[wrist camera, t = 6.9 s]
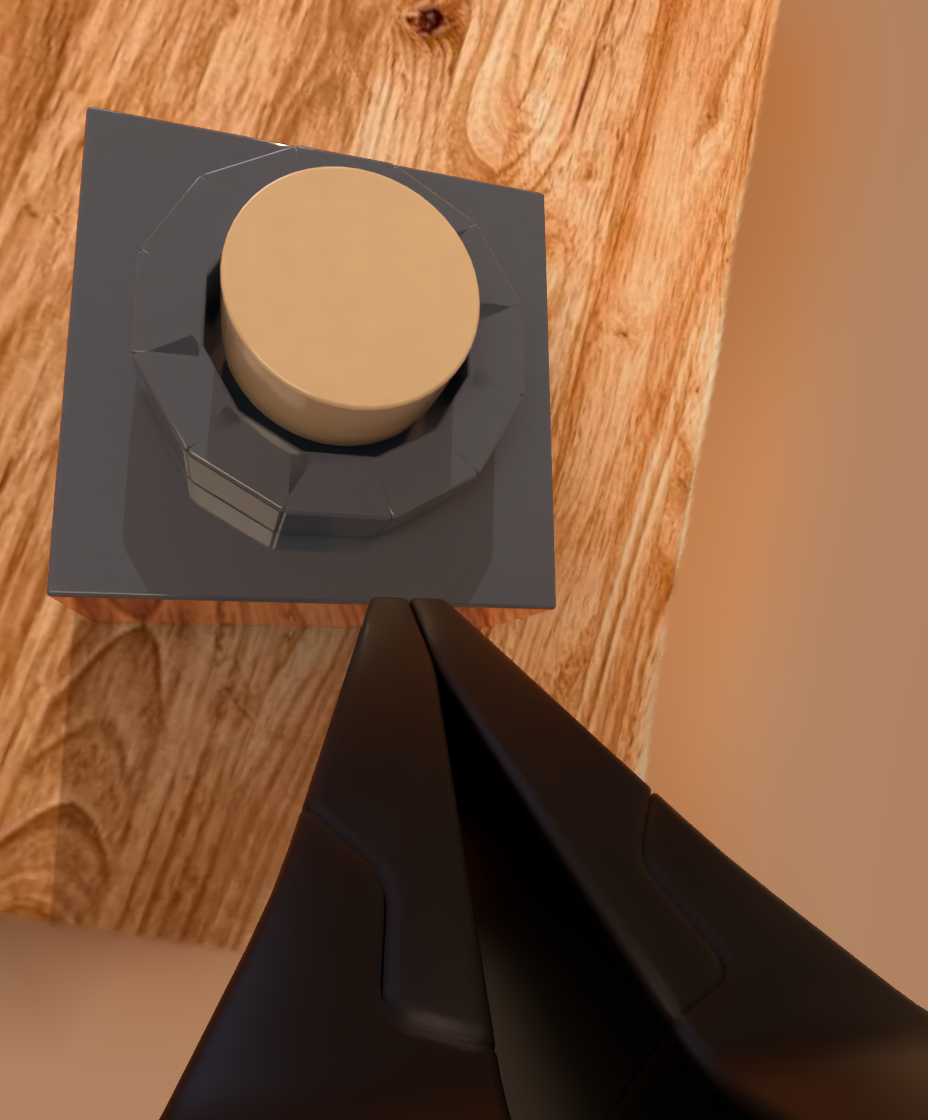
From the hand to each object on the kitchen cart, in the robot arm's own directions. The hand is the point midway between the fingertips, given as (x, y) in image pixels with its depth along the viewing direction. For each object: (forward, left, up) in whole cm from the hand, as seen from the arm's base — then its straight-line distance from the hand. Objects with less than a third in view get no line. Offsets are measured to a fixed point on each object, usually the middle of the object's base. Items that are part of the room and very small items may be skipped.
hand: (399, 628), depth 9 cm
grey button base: (+5, +3, -12) cm, 14 cm away
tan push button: (+5, +3, -6) cm, 8 cm away
